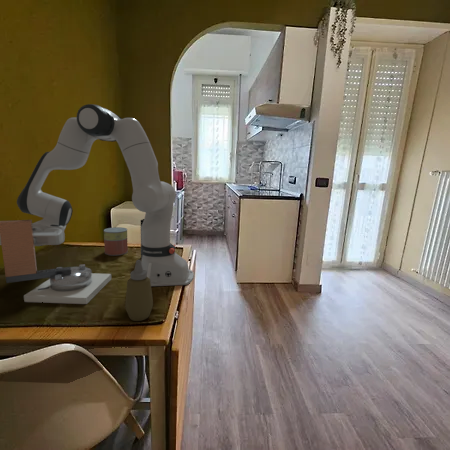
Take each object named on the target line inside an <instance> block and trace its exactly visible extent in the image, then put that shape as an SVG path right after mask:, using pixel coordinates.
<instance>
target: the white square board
mask: <svg viewBox="0 0 450 450" xmlns="http://www.w3.org/2000/svg"><path fill="white" fill-rule="evenodd" d="M111 280H112V273H98V272H97V273H93V272H92V282H91V284H89V285H88V286H86V287H84V288H81V289H77V290H73V291H55V290H53V289H51V287H50V278H48V279H47V280H46V281H44V282H42V283H40V284H39V285H38V286H36V287H35V288H33V289H32V290H30V291H29V292H27V293H26V294H24V295H23V300H24V303H42V302H43V303H46V304H47V303H48V304H49V303H50V304H69V305H70V304H73V305H75V304H76V305H87V304H88V303H90V301H92V299H93V298H95V297H96V295H98V293H99V292H100V291H101V290H102V289H103V288H104V287H105V286H106V285H108V283H109V282H110V281H111Z"/></svg>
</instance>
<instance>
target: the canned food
mask: <svg viewBox="0 0 450 450" xmlns="http://www.w3.org/2000/svg"><path fill="white" fill-rule="evenodd" d="M103 239H104V240H103V241H104V254H105V255H108V256H121V255H125V254H127V253H128V252H129V250H128V248H129V247H128V244H129V243H128V228H126V227H120V226H118V227H117V226H116V227H115V226H114V227H108V228H104V229H103Z"/></svg>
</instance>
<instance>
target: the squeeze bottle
mask: <svg viewBox="0 0 450 450" xmlns="http://www.w3.org/2000/svg"><path fill="white" fill-rule="evenodd" d="M141 262H142V259H136V262H135V266H134V270H132V271H130V278H128V279H127V282H126V293H125V310H126V313H127V316H128V318H129V319H130V320H131V321H134V322H141V321H144V320H146V319H148V318H149V317H150V316H151V313H152V310H153V306H154V301H153V299H154V298H153V291H152V286H151V282H150V279H149V278H148V277H147V271H146V270H143V268H142V264H141Z"/></svg>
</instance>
